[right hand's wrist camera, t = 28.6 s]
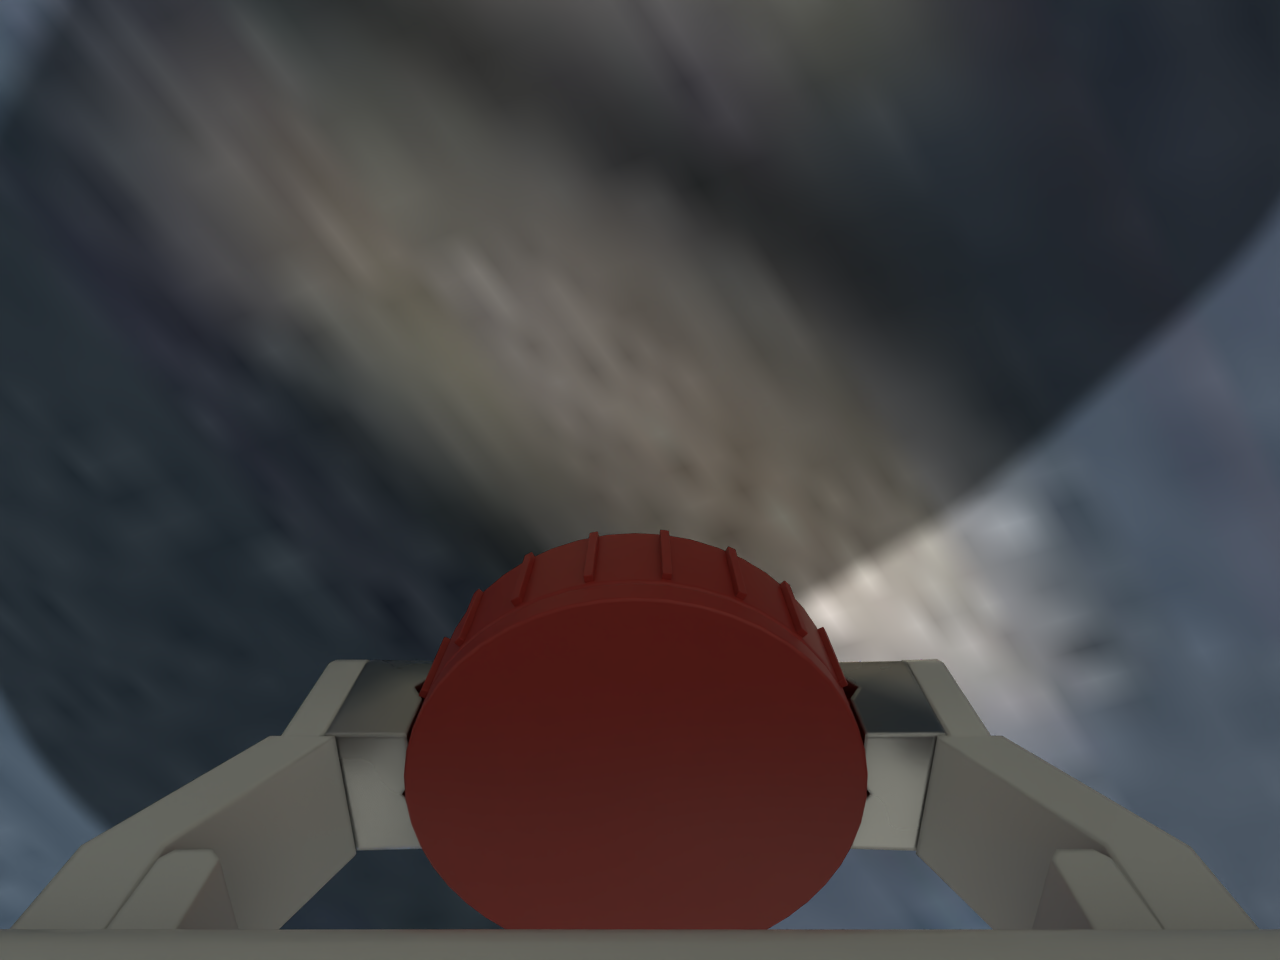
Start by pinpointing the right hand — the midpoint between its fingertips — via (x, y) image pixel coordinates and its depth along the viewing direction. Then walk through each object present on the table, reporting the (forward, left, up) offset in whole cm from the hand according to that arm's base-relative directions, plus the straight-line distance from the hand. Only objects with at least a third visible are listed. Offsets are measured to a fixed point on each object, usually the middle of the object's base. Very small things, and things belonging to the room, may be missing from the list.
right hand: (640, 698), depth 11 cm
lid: (0, 0, +2) cm, 2 cm away
